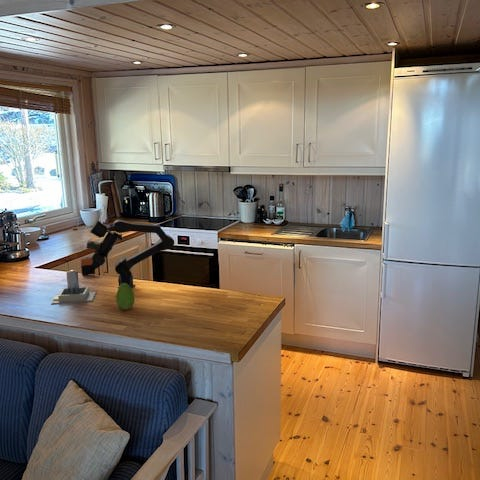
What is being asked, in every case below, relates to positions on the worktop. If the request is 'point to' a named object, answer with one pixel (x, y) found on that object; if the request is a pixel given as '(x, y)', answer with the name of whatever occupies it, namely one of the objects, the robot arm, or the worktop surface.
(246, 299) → the worktop surface
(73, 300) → the tray
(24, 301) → the worktop surface
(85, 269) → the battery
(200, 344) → the worktop surface
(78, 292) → the big cell
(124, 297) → the avocado
